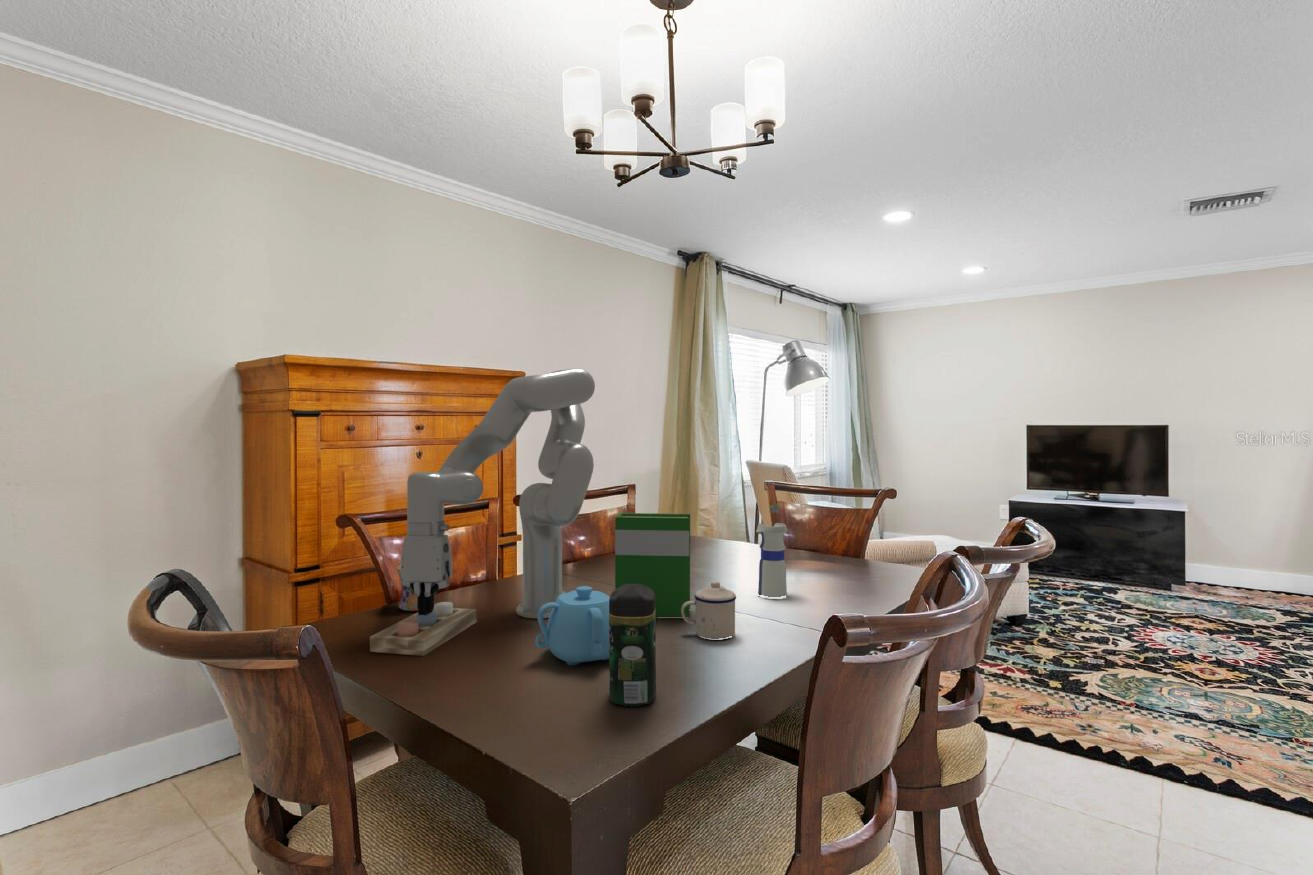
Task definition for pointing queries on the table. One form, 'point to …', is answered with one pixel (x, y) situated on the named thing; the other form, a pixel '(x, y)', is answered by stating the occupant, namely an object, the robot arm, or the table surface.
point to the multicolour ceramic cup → (407, 596)
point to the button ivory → (443, 609)
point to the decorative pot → (577, 626)
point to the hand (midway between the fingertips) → (425, 613)
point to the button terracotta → (408, 628)
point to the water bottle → (772, 559)
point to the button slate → (427, 619)
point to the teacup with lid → (713, 612)
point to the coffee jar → (632, 645)
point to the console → (423, 634)
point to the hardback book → (655, 557)
